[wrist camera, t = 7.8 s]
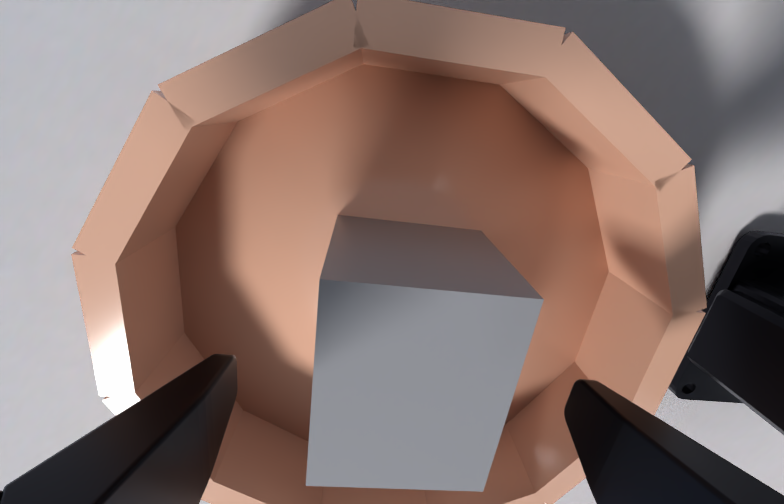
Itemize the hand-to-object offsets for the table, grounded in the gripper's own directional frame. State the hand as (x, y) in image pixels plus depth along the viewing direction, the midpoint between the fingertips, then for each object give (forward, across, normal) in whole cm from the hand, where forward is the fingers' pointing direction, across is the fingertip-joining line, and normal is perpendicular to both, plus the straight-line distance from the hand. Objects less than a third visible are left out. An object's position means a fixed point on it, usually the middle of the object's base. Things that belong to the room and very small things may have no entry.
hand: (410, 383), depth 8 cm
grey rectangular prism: (+4, 0, 0) cm, 4 cm away
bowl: (+4, 0, 0) cm, 4 cm away
